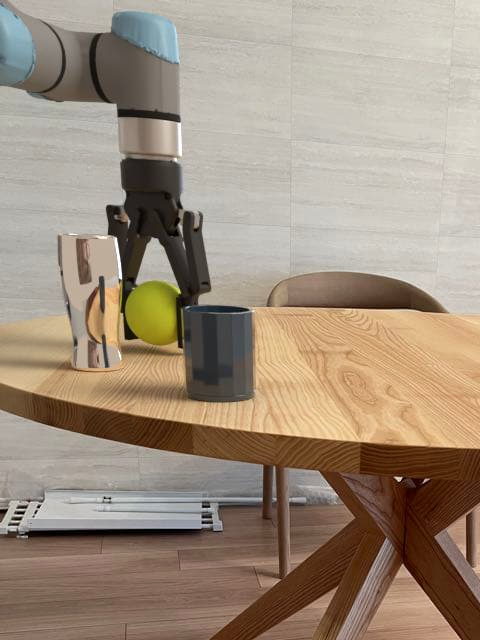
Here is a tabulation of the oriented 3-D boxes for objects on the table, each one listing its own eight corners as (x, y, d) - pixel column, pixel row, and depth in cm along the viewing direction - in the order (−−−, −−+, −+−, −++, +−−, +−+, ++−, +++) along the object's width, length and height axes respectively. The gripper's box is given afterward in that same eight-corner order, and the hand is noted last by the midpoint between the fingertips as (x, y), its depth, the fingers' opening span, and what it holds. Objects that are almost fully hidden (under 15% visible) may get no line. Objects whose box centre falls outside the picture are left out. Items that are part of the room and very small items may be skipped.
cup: (171, 395, 88) (166, 308, 84) (213, 384, 94) (210, 302, 90) (228, 405, 85) (226, 315, 81) (268, 393, 91) (267, 309, 88)
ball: (113, 345, 110) (108, 279, 106) (155, 338, 117) (152, 276, 114) (164, 353, 107) (160, 285, 103) (204, 345, 114) (202, 282, 111)
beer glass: (103, 374, 96) (91, 237, 90) (54, 368, 98) (40, 233, 92) (140, 365, 102) (131, 236, 96) (94, 359, 104) (83, 233, 98)
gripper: (239, 165, 102) (241, 349, 111) (107, 157, 110) (118, 331, 119) (201, 160, 96) (206, 356, 105) (64, 153, 104) (79, 336, 112)
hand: (159, 342), depth 112 cm, fingers closed on ball, 8 cm apart
